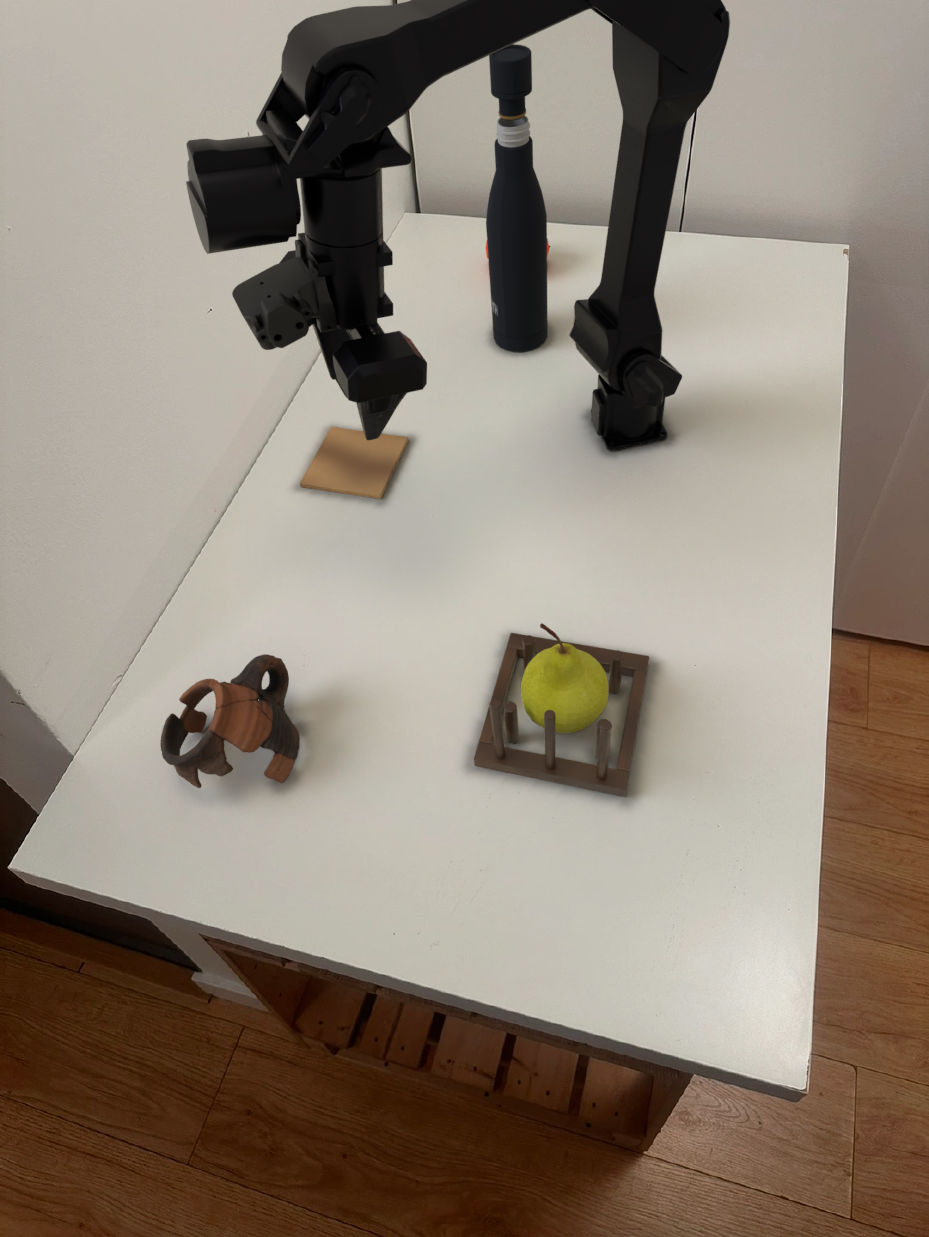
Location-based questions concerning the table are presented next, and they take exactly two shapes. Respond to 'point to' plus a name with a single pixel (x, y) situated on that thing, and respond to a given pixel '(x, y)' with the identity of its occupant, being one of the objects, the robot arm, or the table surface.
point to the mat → (354, 463)
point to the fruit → (564, 687)
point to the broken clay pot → (235, 723)
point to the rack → (549, 764)
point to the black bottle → (516, 212)
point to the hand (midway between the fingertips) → (353, 407)
